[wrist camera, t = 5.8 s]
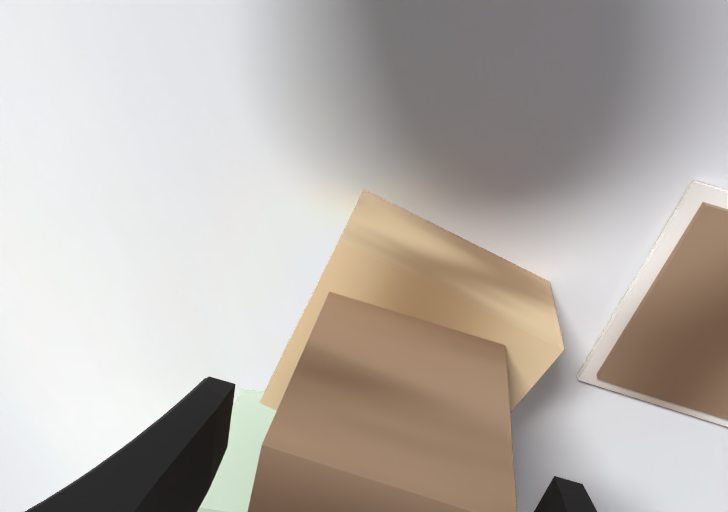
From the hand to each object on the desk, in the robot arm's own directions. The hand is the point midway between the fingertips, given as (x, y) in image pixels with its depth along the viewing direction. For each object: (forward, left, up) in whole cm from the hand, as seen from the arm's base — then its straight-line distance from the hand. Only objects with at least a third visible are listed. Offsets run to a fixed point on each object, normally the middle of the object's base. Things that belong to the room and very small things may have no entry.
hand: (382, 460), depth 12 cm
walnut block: (0, 0, -3) cm, 3 cm away
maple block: (0, 0, -6) cm, 6 cm away
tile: (-9, -3, -6) cm, 11 cm away
